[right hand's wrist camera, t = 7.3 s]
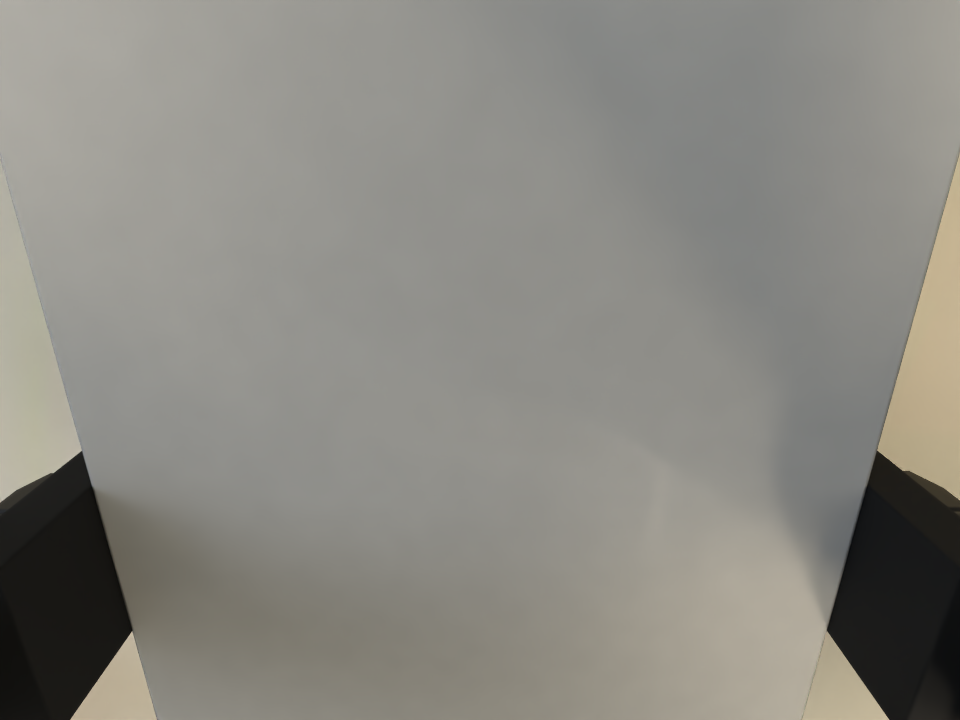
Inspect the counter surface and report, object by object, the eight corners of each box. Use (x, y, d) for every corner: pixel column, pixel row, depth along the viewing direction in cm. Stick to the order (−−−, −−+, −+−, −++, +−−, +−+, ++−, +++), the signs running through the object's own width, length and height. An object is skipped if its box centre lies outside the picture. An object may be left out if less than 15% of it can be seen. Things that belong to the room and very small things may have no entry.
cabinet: (233, -158, 13) (-259, -749, 4) (725, -159, 13) (1215, -746, 4) (311, 486, 19) (171, 779, 10) (647, 486, 19) (788, 779, 10)
